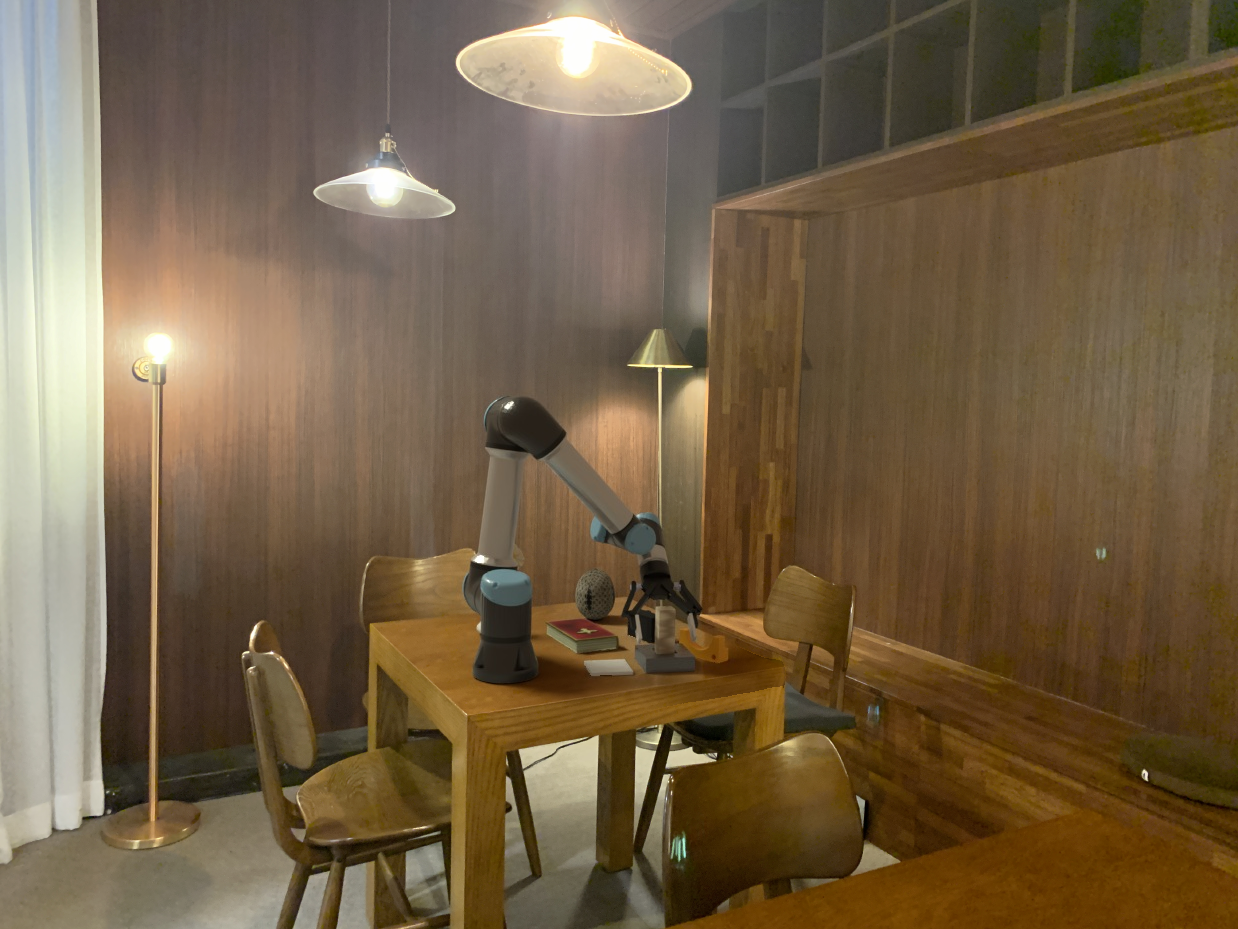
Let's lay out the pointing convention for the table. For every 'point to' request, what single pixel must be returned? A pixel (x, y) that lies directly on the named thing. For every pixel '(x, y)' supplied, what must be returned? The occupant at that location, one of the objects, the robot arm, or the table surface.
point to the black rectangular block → (645, 626)
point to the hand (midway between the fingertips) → (667, 640)
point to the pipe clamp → (711, 653)
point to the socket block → (664, 659)
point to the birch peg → (665, 630)
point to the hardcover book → (582, 635)
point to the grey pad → (608, 667)
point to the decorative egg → (595, 594)
